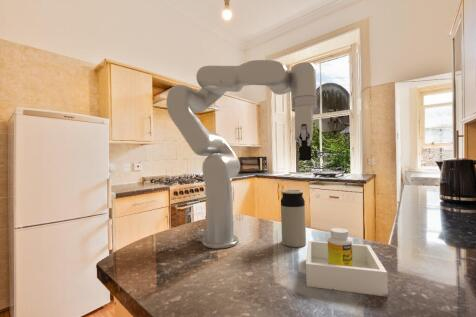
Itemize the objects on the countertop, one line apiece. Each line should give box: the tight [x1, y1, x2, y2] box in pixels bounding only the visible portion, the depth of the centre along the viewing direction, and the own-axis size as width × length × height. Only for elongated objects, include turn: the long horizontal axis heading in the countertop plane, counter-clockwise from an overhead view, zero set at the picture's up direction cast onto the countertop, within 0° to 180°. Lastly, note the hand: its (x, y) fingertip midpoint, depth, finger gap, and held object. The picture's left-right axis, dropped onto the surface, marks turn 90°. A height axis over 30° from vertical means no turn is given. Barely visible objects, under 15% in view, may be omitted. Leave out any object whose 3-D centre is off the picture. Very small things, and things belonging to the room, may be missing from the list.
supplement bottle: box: [327, 227, 353, 267], centre depth 58 cm, size 6×6×10 cm
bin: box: [305, 240, 389, 298], centre depth 58 cm, size 16×16×5 cm
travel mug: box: [280, 189, 307, 248], centre depth 80 cm, size 8×8×18 cm
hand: (305, 160), depth 72 cm, fingers open, 9 cm apart
